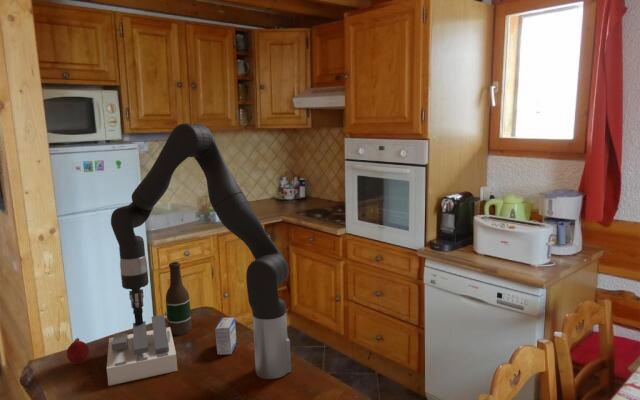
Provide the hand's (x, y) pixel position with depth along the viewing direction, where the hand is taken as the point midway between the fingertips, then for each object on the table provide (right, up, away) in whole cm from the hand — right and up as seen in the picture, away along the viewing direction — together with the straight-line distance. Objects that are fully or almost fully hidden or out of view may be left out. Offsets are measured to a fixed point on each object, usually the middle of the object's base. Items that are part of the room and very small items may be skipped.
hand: (139, 324), depth 143 cm
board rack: (+3, -10, -5) cm, 11 cm away
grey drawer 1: (+8, -2, -4) cm, 9 cm away
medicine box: (+27, -8, +1) cm, 28 cm away
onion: (-16, -11, -5) cm, 20 cm away
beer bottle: (+8, -6, +15) cm, 18 cm away
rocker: (+3, -2, -6) cm, 7 cm away
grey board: (-2, -3, -8) cm, 9 cm away
